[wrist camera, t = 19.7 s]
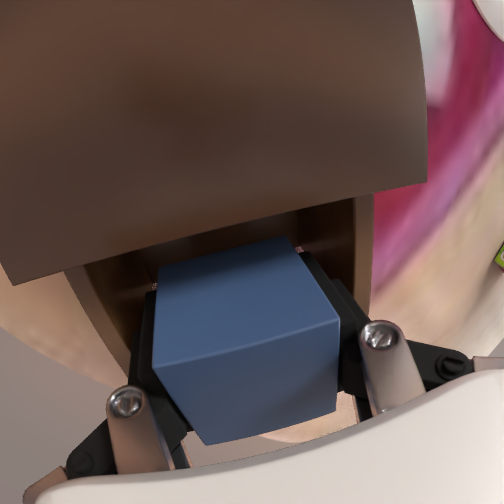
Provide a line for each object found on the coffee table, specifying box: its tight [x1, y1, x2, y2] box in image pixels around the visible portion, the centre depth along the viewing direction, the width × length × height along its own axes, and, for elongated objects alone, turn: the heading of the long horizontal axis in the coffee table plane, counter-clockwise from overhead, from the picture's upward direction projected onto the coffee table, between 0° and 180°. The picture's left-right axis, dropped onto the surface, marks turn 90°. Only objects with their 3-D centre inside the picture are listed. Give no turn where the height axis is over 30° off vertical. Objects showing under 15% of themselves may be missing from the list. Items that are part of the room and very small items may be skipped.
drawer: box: [64, 193, 374, 377], centre depth 14 cm, size 18×11×8 cm, turn 11°
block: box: [152, 235, 340, 445], centre depth 10 cm, size 4×4×4 cm
